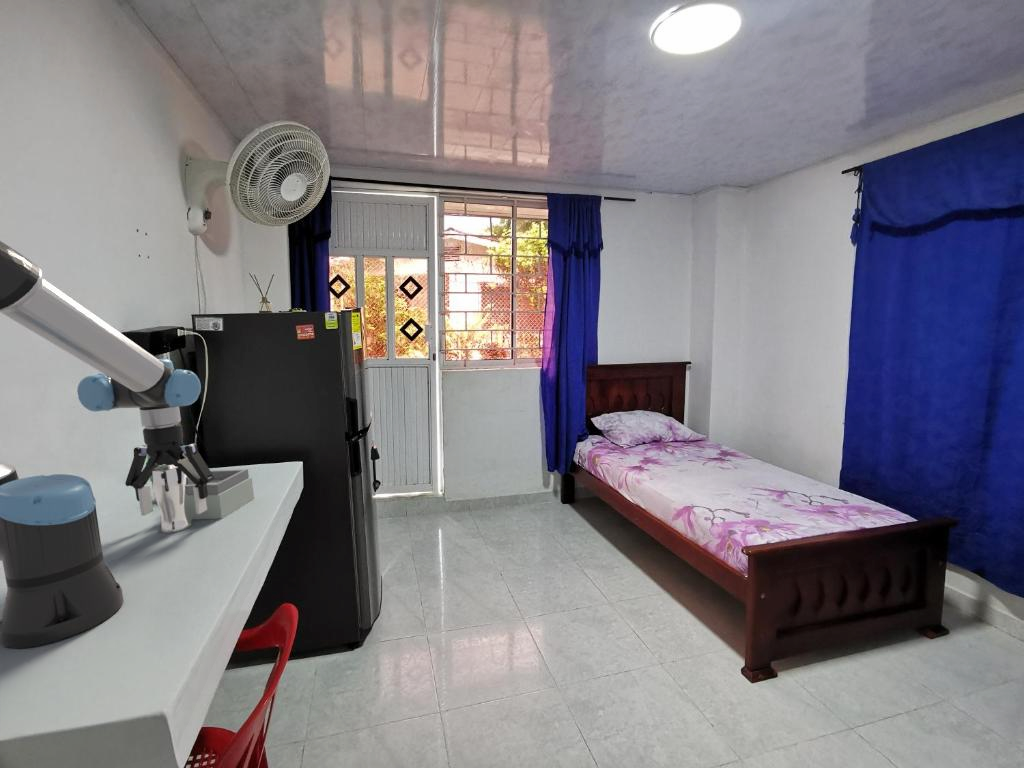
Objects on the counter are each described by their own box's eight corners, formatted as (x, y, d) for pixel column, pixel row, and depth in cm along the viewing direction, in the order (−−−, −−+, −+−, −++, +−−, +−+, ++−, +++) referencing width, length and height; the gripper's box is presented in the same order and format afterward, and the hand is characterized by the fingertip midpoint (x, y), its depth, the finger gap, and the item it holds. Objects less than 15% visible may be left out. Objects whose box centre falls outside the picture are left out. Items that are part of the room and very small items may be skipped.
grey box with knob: (222, 518, 123) (217, 485, 122) (156, 520, 124) (152, 487, 123) (254, 498, 137) (250, 468, 136) (195, 500, 138) (191, 470, 137)
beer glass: (190, 530, 117) (181, 468, 115) (155, 536, 114) (145, 473, 113) (196, 519, 123) (188, 461, 122) (163, 525, 121) (154, 465, 119)
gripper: (223, 420, 119) (234, 505, 121) (124, 424, 120) (137, 508, 123) (202, 426, 111) (214, 517, 114) (97, 430, 113) (111, 520, 116)
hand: (174, 512), depth 118 cm, fingers open, 13 cm apart
